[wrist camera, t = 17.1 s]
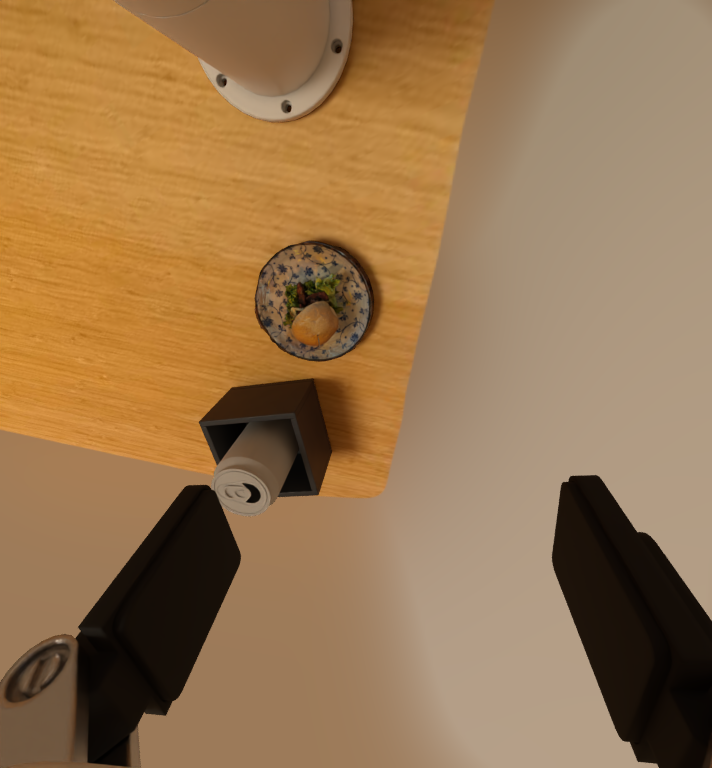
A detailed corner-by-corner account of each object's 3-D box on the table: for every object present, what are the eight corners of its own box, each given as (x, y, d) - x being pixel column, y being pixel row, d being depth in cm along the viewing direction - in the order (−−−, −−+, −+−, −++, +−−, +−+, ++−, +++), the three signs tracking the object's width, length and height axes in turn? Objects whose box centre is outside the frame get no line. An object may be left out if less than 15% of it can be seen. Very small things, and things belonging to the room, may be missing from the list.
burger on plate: (344, 218, 34) (328, 223, 27) (392, 333, 38) (388, 361, 32) (238, 271, 37) (200, 287, 31) (293, 371, 42) (270, 403, 35)
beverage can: (309, 446, 45) (278, 522, 35) (259, 443, 46) (214, 517, 36) (305, 401, 42) (269, 468, 32) (251, 399, 43) (200, 464, 33)
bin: (231, 387, 44) (198, 422, 37) (313, 378, 42) (294, 412, 35) (256, 457, 48) (231, 499, 41) (332, 452, 46) (318, 495, 39)
